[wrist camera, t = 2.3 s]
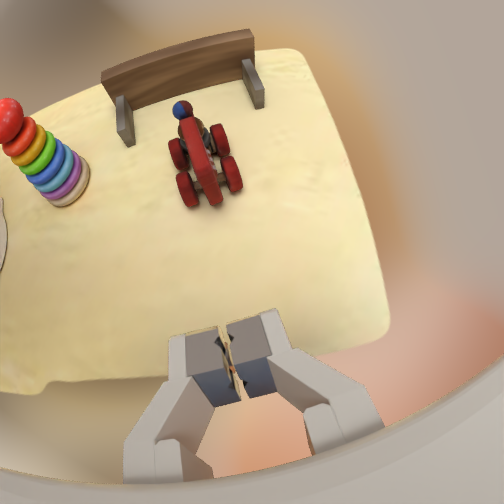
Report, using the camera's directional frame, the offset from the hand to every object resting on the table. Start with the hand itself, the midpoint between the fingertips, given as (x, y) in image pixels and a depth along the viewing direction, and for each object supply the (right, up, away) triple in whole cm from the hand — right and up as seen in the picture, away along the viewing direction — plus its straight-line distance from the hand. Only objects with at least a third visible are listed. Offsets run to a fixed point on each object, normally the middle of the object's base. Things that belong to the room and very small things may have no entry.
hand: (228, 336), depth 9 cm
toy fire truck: (-5, +13, +27) cm, 30 cm away
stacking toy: (-26, +12, +28) cm, 40 cm away
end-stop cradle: (-8, +24, +30) cm, 39 cm away
